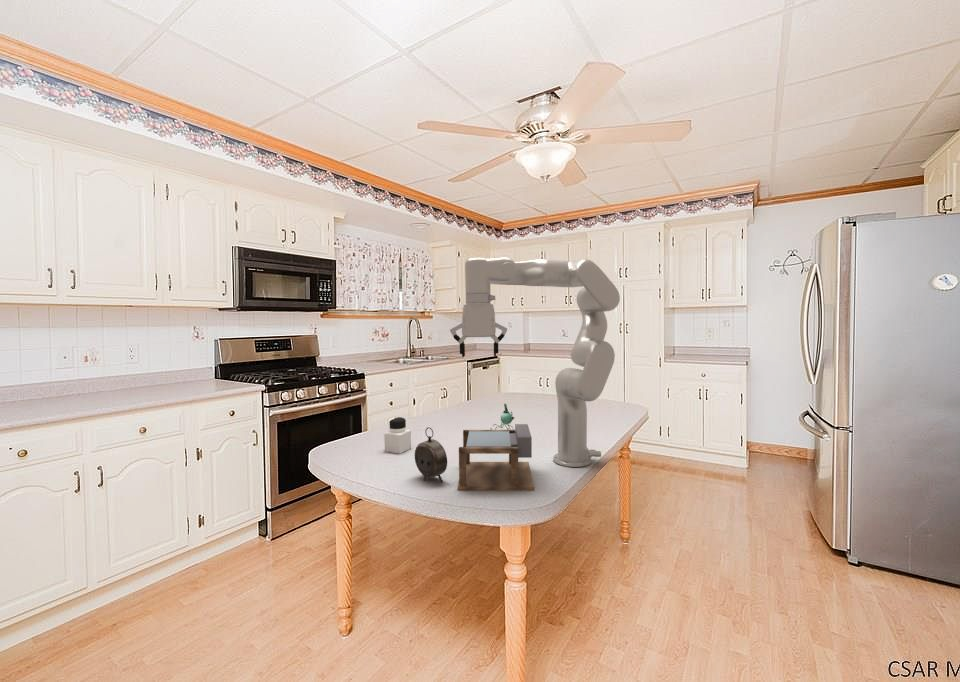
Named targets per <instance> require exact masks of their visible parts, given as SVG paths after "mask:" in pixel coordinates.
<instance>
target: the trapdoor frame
mask: <svg viewBox="0 0 960 682" xmlns="http://www.w3.org/2000/svg"><path fill="white" fill-rule="evenodd" d="M462 431H463V432H462V441H463V442H462V443H463V444H462V445H463V446H458V476H459V477H458V481H457V488H456V490H457V491H535V485H534V479H533V475H532V471H531V466H530V463H529V461H519V458H518V447H466V445H467V440H468V435H469V431H509V433H515V429H514V430H513V429H509V430H507V429H496V430H495V429H492V430H491V429H463V430H462ZM471 454H472V455H473V454H474V455H475V454H479V455H481V454H483V455H485V454H487V455H488V454H495V455H496V454H503V455H504V454H505V455H506V454H508V461H470V460H471V458H470V457H471V456H470V455H471Z"/></svg>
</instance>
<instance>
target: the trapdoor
mask: <svg viewBox="0 0 960 682" xmlns="http://www.w3.org/2000/svg"><path fill="white" fill-rule="evenodd" d="M514 430H515V433H509V431H469V435H468V440H467V445H466V447H518V459H521V458H522V459H523V458H525V459H527V458H528V459H529V458H530V459H531V458H532V452H533V451H532V449H533V448H532V445H533V444H532V443H533V441H532V435H531V431H530V426H529V424H528V423H515V424H514Z"/></svg>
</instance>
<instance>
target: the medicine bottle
mask: <svg viewBox="0 0 960 682" xmlns="http://www.w3.org/2000/svg"><path fill="white" fill-rule="evenodd" d="M406 422H407V420H406V418H404V417H399V416H398V417H397V416H396V417H391V418H390V419H389V420H388V429H389V430H387V431H385V432H384V433H383V438H384V452H385V453H393V454H396V455H397V454H400V455H401V454H403V453H405V452H407V451H409V450H410V449H412V433H411V432H412V431H411V429H406V428H407V426H406V425H407V424H406Z"/></svg>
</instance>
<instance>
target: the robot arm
mask: <svg viewBox="0 0 960 682" xmlns="http://www.w3.org/2000/svg"><path fill="white" fill-rule="evenodd" d="M464 263H465V264H464V271H465V272H464V273H465V274H464V277H465V278H464V281H465V286H464V287H465V304H463V307H462V312H461V313H462V314H461V315H462V316H461V323H460V324H458V325H456V326H454V327H452V328H450V330H449V331H450V333H451V335H452V337H453V339H454V340H455V341H456V342H457V343H459V355H461V357H462V358H464V357H465V356H466V344H465V340H466V339H467V338H491V339H492V340H493V357H497V354H499V343H500V342H501V341H502V340H503V339H504V338H505V336H506V333H507V331H508V328H507V326H506V327H505V326H503V325H501V324H500V323H497V322H496V314H495V307H494V306H495V305H494V304H493V303H491V302H492V301H495V300H496V295H492V294H491V293H492V292H491V285H503V286H504V285H507V286H528V287H554V288H578V287H579V288H581V287H582V288H581V289H580V290H578V291H577V295H576V303H577V306H578V308H579V310H580V312H581V313H580V314H581V317H582V322H581V327H580V330H579V332H578V334H577V336H576V338H575V339H576V340H575V341H574V343H573V347H572V349H571V353H570V360H571V361H572V363H573V364H575V365H577V366H579V367H581V368H582V367H583V369H580V368H574V367H567V368H564V369H560V371H559V372H558V373H557V375H556V377H555V381H554V382H555V383H554V385H555V392H556V398H557V453H555V454H554V455H553V458H552V459H553V462H554V463H556V464H557V465H560V466H563V467H569V468H570V467H571V468H582V467H587V466H588V465H590V464H591V463H592V457H594V458H601V457H602V451H601V450H596V449H589V448H588V445H587V443H588V441H587V438H588V437H587V434H588V429H587V428H588V423H587V422H588V409H587V403H588V402H594V401H595V400H597V399H598V398H599V397H600V396H601V394H602V393H603V391H604V388H605V386H606V383H607V381H608V379H609V377H610V374H611V372H612V369H613V366H614V362H615V354H616V353H615V351H614V350H615V349H614V348H613V346H612V345H611V343H609V342H607V341H606V340H605V337H606V335H607V331H608V321H607V317H606V313H605V312H611V311H613V310H615V309H616V308H617V307H618V306H619V304H620V299H621V296H620V293H619V290H618V288H617V287H616V286H615V284H614V283H613V281H612V280H611V279H610V278H609V277H608V276H607V274H606V273H605V272H604V271H603V270H602V269H601V268H600V267H599V265H598V264H596V263H595V262H594V261H592V260H591V259H585V258H584V259H578V260H573V261H571V260H555V259H554V260H553V259H543V258H541V259H532V260H525V261H514V259H512V258H510V257H504V256H503V257H496V258H495V257H494V258H484V257H472V258H468V259H466V260H465V262H464ZM460 329H461V333H462V336H461V337H460V336H459V335H458V334H457V331H459V330H460ZM497 329H498V330H501V333H500V334H499V336H496V331H497Z"/></svg>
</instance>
